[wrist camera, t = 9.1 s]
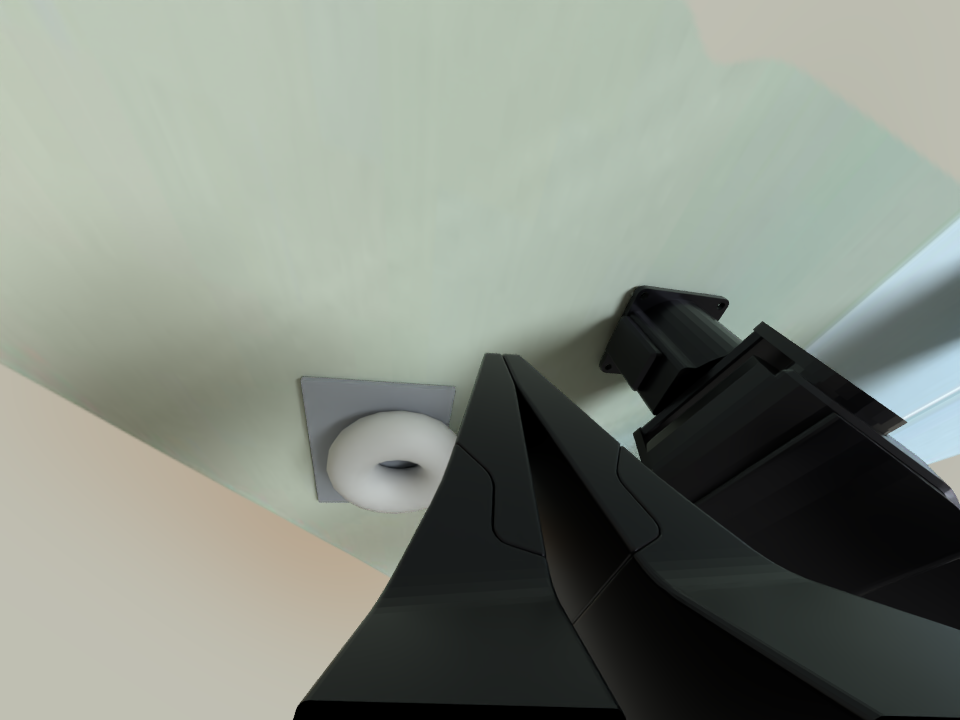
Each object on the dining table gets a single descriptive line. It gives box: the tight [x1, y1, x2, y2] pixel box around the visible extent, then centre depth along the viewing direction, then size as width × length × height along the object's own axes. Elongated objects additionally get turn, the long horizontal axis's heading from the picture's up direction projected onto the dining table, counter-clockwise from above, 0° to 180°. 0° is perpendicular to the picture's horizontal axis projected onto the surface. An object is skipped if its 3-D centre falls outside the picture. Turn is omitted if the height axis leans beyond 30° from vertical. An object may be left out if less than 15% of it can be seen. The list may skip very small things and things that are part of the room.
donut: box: [327, 411, 457, 514], centre depth 26 cm, size 10×4×10 cm
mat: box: [301, 376, 455, 502], centre depth 28 cm, size 10×14×1 cm
